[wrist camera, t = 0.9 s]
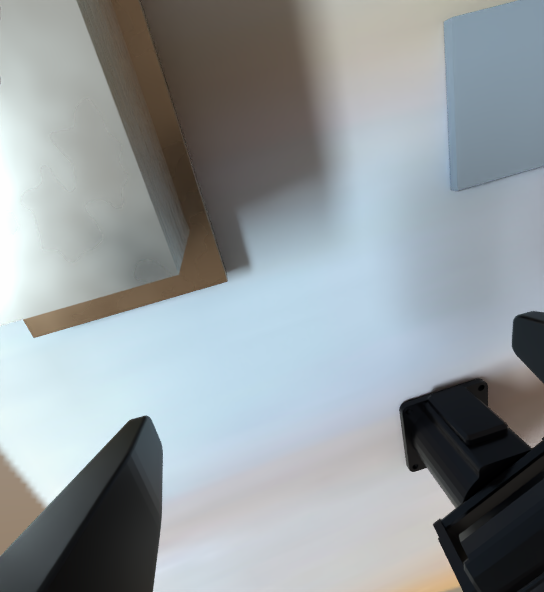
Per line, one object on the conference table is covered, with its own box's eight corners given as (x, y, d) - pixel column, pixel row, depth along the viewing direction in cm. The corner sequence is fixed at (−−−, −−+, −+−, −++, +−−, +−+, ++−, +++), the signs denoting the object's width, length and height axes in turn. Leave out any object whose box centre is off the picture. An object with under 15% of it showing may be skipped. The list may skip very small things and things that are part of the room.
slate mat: (562, 157, 21) (572, 157, 20) (451, 189, 20) (457, 190, 20) (575, -12, 17) (587, -18, 17) (443, 21, 17) (451, 17, 16)
